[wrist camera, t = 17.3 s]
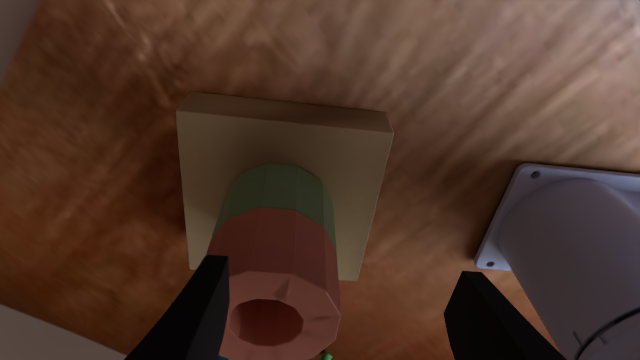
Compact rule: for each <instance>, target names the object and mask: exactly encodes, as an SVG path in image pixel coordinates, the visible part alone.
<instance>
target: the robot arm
mask: <svg viewBox="0 0 640 360" xmlns="http://www.w3.org/2000/svg"><path fill="white" fill-rule="evenodd" d="M534 171H537V172H536V173H535V174H533V175H531V174H532V173H533V172H534ZM490 261H491V262H490ZM474 264H475V266H476V267H477V268H481V269H494V270H507V271H513V273H514V275H515V276H516V278H517V280H518V281H519V283H520V285H521V286H522V288H523V290H524V291H525V293H526V295H527V297H528V298H529V300H530V302H531V303H532V305H533V307H534V308H535V310H536V312H537V313H538V315H539V317H540V319H541V320H542V322H543V324H544V325H545V327H546V329H547V330H548V332H549V334H550V335H551V337H552V339H553V341H554V342H555V344H556V346H557V347H558V349H559V351H560V352H561V354H560V353H559V352H558V351H557V350H556V349H555V348H554V347H553V346H552V345H551V344H550V343H549V342H548V341H547V340H546V339H545V338H544V337H543V336H542V335H541V334H540V333H539V332H538V331H537V330H536V329H535V328H534V327H533V326H532V325H531V324H530V323H529V322H528V321H527V320H526V319H525V318H524V317H523V316H522V315H521V313H520V312H519V311H518V310H517V309H516V308H515V307H514V306H513V305H512V304H511V303H510V302H509V301H508V300H507V299H506V298H505V296H504V295H503V294H502V293H501V292H500V291H499V290H498V289H497V288H496V287H495V286H494V285H493V284H492V283H491V282H490V281H489V279H488V278H487V277H486V276H485V275H484V274H483V273H482V272H471V271H462V273H461V275H460V278H459V280H458V282H457V284H456V287H455V289H454V291H453V293H452V296H451V298H450V300H449V302H448V305H447V307H446V309H445V312H444V318H445V323H446V328H447V333H448V337H449V341H450V346H451V349H452V352H453V355H454V358H455V360H640V174H631V173H621V172H611V171H601V170H591V169H581V168H571V167H561V166H551V165H541V164H531V163H524V164H522V165H520V166H519V167H517V169H516V170H515V173H514V175H513V177H512V179H511V181H510V183H509V185H508V188H507V190H506V192H505V194H504V196H503V198H502V200H501V203H500V205H499V207H498V209H497V211H496V213H495V215H494V218H493V220H492V222H491V224H490V226H489V228H488V230H487V232H486V235H485V237H484V239H483V241H482V243H481V245H480V247H479V250H478V252H477V254H476V256H475V258H474ZM229 303H230V294H229V258H228V256H220V255H207V256H205V257H204V258H203V260H202V261H201V263H200V265H199V266H198V268H197V269H196V271H195V273H194V274H193V276H192V277H191V278H190V280H189V281H188V283H187V284H186V286H185V287H184V288H183V290H182V291H181V293H180V294H179V295H178V296H177V298H176V299H175V300H174V302H173V303H172V304H171V306H170V307H169V308H168V310H167V311H166V312H165V313H164V315H163V316H162V317H161V318H160V320H159V321H158V322H157V323H156V324H155V325H154V327H153V328H152V329H151V330H150V331H149V332H148V334H147V335H146V336H145V337H144V338H143V339H142V341H141V342H140V343H139V344H138V345H137V346H136V347H135V348H134V349H133V351H132V352H131V353H130V354H129V355H128V356H127V357H126V358H125V359H124V360H217V359H218V355H219V351H220V348H221V344H222V341H223V337H224V332H225V327H226V321H227V315H228V309H229Z"/></svg>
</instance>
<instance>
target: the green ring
mask: <svg viewBox="0 0 640 360" xmlns="http://www.w3.org/2000/svg"><path fill="white" fill-rule="evenodd" d="M259 207H263V208H275V209H286V210H295V211H297V212H299V213H300V214H302V215H304V216H306V217H307V218H309V219H311V220H313V221H314V222H316V223H318V224H320V225H321V226H323V227H324V228H325V230H326V232H327V234H328V236H329V238H330V239H331V241H332V243H333V245H334V247H335V249H336V238H335V225H334V212H333V202H332V200H331V198H330V196H329V194H328V192H327V190H326V188H325V186H324V184H323V182H322V181H321V180H319V179H318V178H316V177H315V176H313V175H311V174H310V173H308V172H307V171H305V170H303V169H302V168H300V167H297V166H295V165H284V164H273V163H268V164H264V165H261V166H258V167H256V168H253V169H251V170H248V171H246V172H243V173H241V174H240V175H239V176H238V177H237V179H236V180H235V181H234V183H233V184H232V185H231V187H230V188H229V189H228V191H227V192H226V194H225V197H224V201H223V204H222V207H221V210H220V213H219V216H218V219H217V222H216V225H215V228H214V231H213V234H212V237H211V239H212V238H213V237H214V235H215V234H216V233H217V231H218V230H219V229H220V228H221V226H222V225H223V224H224V223H225V221H226V220H227V219H229V218H231V217H234V216H237V215H240V214H242V213H245V212H248V211H251V210H253V209H256V208H259Z"/></svg>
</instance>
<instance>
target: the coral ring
mask: <svg viewBox="0 0 640 360" xmlns="http://www.w3.org/2000/svg"><path fill="white" fill-rule="evenodd" d="M207 255H220V256H228V258H229V294H230V303H229V309H228V315H227V321H226V327H225V332H224V337H223V341H222V344H221V348H220V351H219V355H220V356H222V357H225V358H228V359H230V360H307V359H311V358H312V357H315V356H316V355H317V354H319V353H320V352H321V351H322V350H324V349H325V348H326V347H327V346H328V345H330V344H331V343H332V342H333V341H334V340H335V339H336V336H337V332H338V328H339V323H340V319H341V305H340V292H339V279H338V266H337V253H336V249H335V247H334V245H333V243H332V241H331V239H330V238H329V236H328V234H327V232H326V230H325V228H324V227H323V226H321V225H320V224H318V223H316V222H314V221H313V220H311V219H309V218H307V217H306V216H304V215H302V214H300V213H299V212H297V211H295V210H286V209H275V208H263V207H259V208H256V209H253V210H251V211H248V212H245V213H242V214H240V215H237V216H234V217H231V218H229V219H227V220H226V221H225V223H224V224H223V225H222V226H221V228H220V229H219V230H218V231H217V233H216V234H215V235H214V237H213V238H212V239H211V241H210V244H209V247H208V250H207V253H206V256H207Z"/></svg>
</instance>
